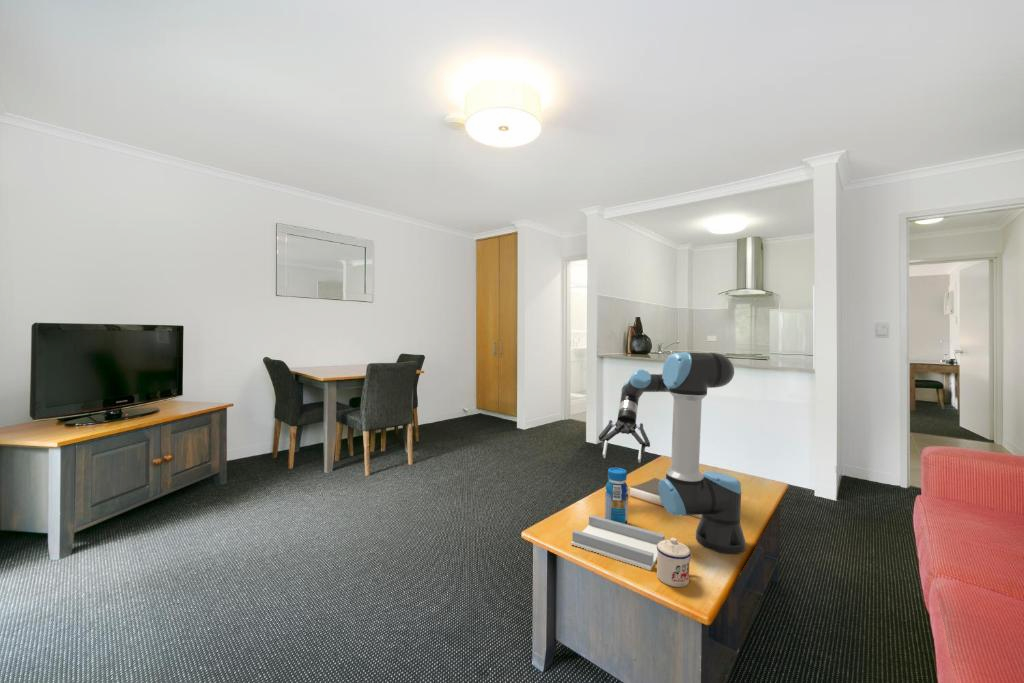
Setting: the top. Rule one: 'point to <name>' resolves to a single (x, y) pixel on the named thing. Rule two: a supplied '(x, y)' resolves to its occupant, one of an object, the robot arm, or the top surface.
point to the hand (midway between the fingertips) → (621, 458)
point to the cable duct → (619, 541)
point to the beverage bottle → (616, 496)
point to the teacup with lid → (673, 562)
